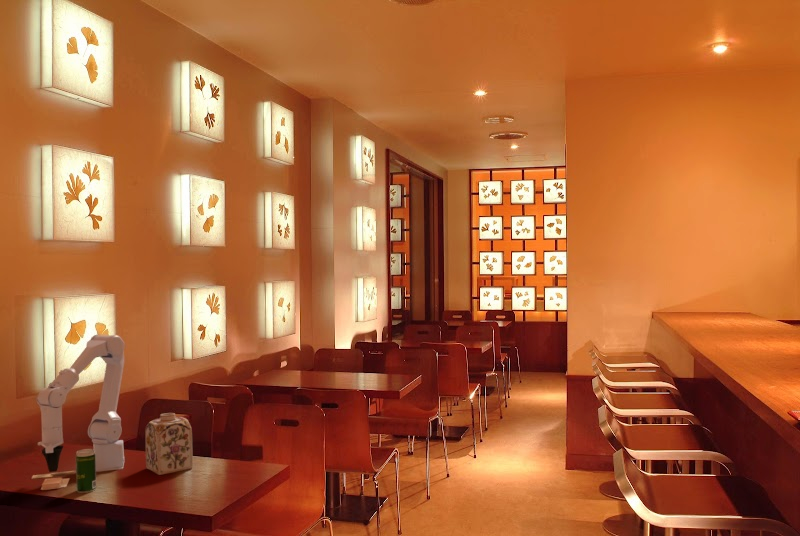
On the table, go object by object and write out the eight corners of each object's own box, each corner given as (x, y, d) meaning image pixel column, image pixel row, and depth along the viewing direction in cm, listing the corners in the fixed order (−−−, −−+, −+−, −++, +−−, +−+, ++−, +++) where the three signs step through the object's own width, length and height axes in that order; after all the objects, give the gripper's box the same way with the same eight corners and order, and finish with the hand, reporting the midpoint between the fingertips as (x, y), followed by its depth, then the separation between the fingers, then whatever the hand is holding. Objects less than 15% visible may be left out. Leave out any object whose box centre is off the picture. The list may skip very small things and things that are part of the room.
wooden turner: (75, 472, 234) (75, 469, 234) (74, 475, 231) (74, 472, 231) (33, 477, 230) (33, 474, 230) (31, 480, 227) (31, 477, 227)
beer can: (98, 488, 217) (97, 448, 217) (93, 493, 211) (91, 452, 211) (80, 489, 216) (79, 449, 216) (74, 494, 211) (72, 453, 211)
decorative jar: (158, 476, 228) (156, 419, 228) (145, 468, 237) (143, 414, 237) (194, 468, 236) (192, 413, 235) (180, 461, 245) (178, 408, 244)
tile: (44, 479, 220) (42, 484, 215) (62, 477, 222) (59, 482, 216) (45, 484, 220) (42, 490, 215) (62, 482, 222) (59, 488, 216)
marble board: (69, 478, 227) (69, 478, 227) (66, 487, 218) (66, 486, 218) (45, 481, 225) (45, 480, 225) (40, 490, 216) (40, 489, 216)
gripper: (41, 423, 227) (42, 466, 227) (33, 433, 213) (34, 479, 213) (65, 421, 229) (67, 464, 229) (59, 430, 215) (61, 476, 215)
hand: (53, 471), depth 221 cm, fingers closed
